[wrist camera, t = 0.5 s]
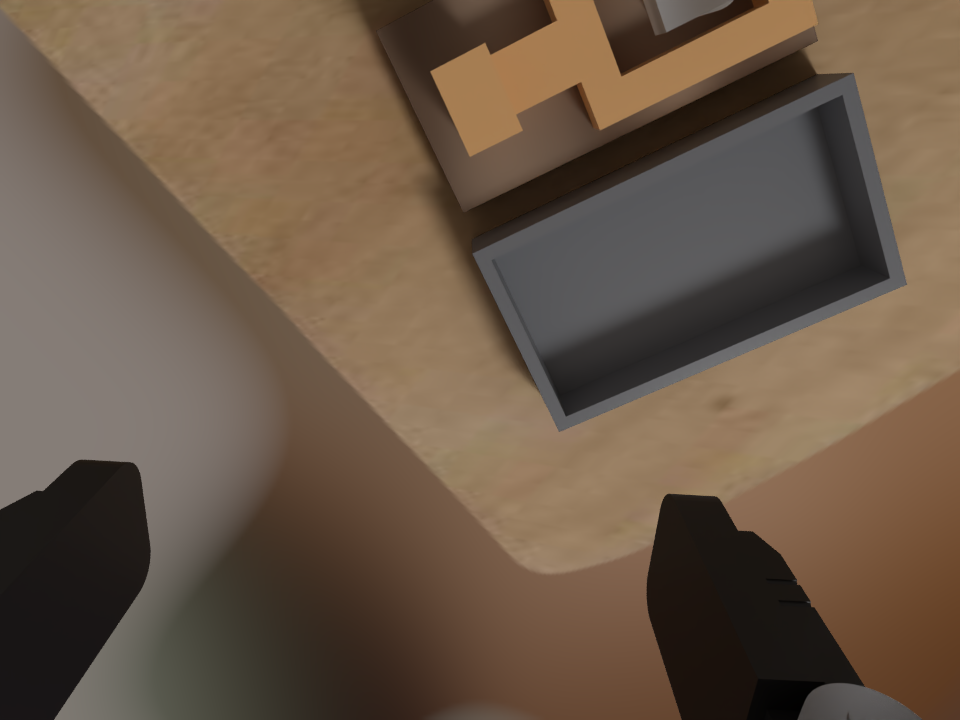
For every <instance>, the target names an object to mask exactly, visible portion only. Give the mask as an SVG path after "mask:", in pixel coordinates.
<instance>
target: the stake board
mask: <svg viewBox="0 0 960 720" xmlns="http://www.w3.org/2000/svg"><path fill="white" fill-rule="evenodd" d="M593 1H594V4H595V6H596V9H597V12H598V14H599V17H600V20H601V23H602V25H603V28H604V31H605V33H606V36H607V39H608V42H609V44H610V47H611V50H612V52H613V55H614V58H615V60H616V63H617V66H618V69H619V71H620V74H621V73H623V72H625V71H627V70H629V69H631V68H633V67H635V66H637V65H639V64H641V63H643V62H645V61H647V60H649V59H651V58H653V57H655V56H657V55H659V54H661V53H663V52H665V51H667V50H669V49H671V48H673V47H675V46H677V45H679V44H681V43H683V42H685V41H687V40H689V39H691V38H693V37H695V36H697V35H699V34H701V33H703V32H705V31H707V30H709V29H711V28H713V27H715V26H717V25H719V24H721V23H724V22H726V21H728V20H730V19H732V18H734V17H736V16H738V15H740V14H742V13H744V12H746V11H748V10H750V9H752V8H754V6H753V2H752V0H593ZM551 23H552V21H551V18H550V16H549V13H548V11H547V8H546V6H545V3H544V0H433V1H431V2H429V3H427V4H425V5H423V6H421V7H420V8H418V9H416V10H414V11H412V12H410V13H408V14H407V15H405V16H403V17H401V18H399V19H397V20H395V21H394V22H392V23H390V24H388V25H386V26H384V27H382V28H381V29H379V30H377V31H376V32H377V34H378V36H379V38H380V40H381V42H382V44H383V46H384V49H385V51H386V53H387V55H388V57H389V59H390V61H391V63H392V65H393V67H394V69H395V71H396V73H397V76H398V78H399V80H400V82H401V84H402V86H403V88H404V90H405V92H406V94H407V96H408V98H409V100H410V103H411V105H412V107H413V109H414V111H415V113H416V115H417V117H418V119H419V121H420V123H421V125H422V127H423V130H424V132H425V134H426V136H427V138H428V140H429V142H430V144H431V146H432V148H433V150H434V152H435V154H436V157H437V159H438V161H439V163H440V165H441V167H442V169H443V171H444V173H445V175H446V177H447V179H448V182H449V184H450V186H451V188H452V190H453V192H454V194H455V196H456V198H457V200H458V202H459V204H460V206H461V209H462V211H463V213H464V212H466V211H468V210H470V209H472V208H474V207H476V206H478V205H480V204H483V203H485V202H487V201H489V200H491V199H493V198H495V197H497V196H499V195H501V194H503V193H505V192H507V191H509V190H511V189H513V188H516V187H518V186H520V185H522V184H524V183H526V182H528V181H530V180H532V179H534V178H536V177H538V176H540V175H542V174H544V173H547V172H549V171H551V170H553V169H555V168H557V167H559V166H561V165H563V164H565V163H567V162H569V161H571V160H573V159H575V158H577V157H580V156H582V155H584V154H586V153H588V152H590V151H592V150H594V149H596V148H598V147H600V146H602V145H604V144H606V143H608V142H610V141H613V140H615V139H617V138H619V137H621V136H623V135H625V134H627V133H629V132H631V131H633V130H635V129H637V128H639V127H641V126H644V125H646V124H648V123H650V122H652V121H654V120H656V119H658V118H660V117H662V116H664V115H666V114H668V113H670V112H672V111H674V110H677V109H679V108H681V107H683V106H685V105H687V104H689V103H691V102H693V101H695V100H697V99H699V98H701V97H703V96H705V95H707V94H710V93H712V92H714V91H716V90H718V89H720V88H722V87H724V86H726V85H728V84H730V83H732V82H734V81H736V80H738V79H741V78H743V77H745V76H747V75H749V74H751V73H753V72H755V71H757V70H759V69H761V68H763V67H765V66H767V65H769V64H771V63H774V62H776V61H778V60H780V59H782V58H784V57H786V56H788V55H790V54H792V53H794V52H796V51H798V50H800V49H802V48H804V47H807V46H809V45H811V44H813V43H815V42H817V41H818V39H817V35H816V32H815V28H814V26H813V27H811V28H809V29H807V30H805V31H803V32H801V33H799V34H797V35H794V36H792V37H790V38H788V39H786V40H784V41H782V42H780V43H778V44H776V45H774V46H772V47H770V48H768V49H766V50H764V51H762V52H760V53H758V54H756V55H754V56H751V57H749V58H747V59H745V60H743V61H741V62H739V63H737V64H735V65H733V66H731V67H729V68H727V69H725V70H723V71H721V72H719V73H717V74H715V75H713V76H711V77H708V78H706V79H704V80H702V81H700V82H698V83H696V84H694V85H692V86H690V87H688V88H686V89H684V90H682V91H680V92H678V93H676V94H674V95H672V96H670V97H667V98H665V99H663V100H661V101H659V102H657V103H655V104H653V105H651V106H649V107H647V108H645V109H643V110H641V111H639V112H637V113H635V114H633V115H631V116H629V117H627V118H624V119H622V120H620V121H618V122H616V123H614V124H612V125H610V126H608V127H606V128H604V129H602V130H597V129H594V128H593V125H592V123H591V120H590V117H589V115H588V112H587V110H586V107H585V105H584V102H583V100H582V97H581V95H580V92H579V89H578V87H577V84H576V85H574V86H572V87H570V88H568V89H566V90H564V91H562V92H560V93H558V94H556V95H554V96H552V97H550V98H548V99H546V100H544V101H542V102H540V103H538V104H536V105H534V106H532V107H530V108H528V109H526V110H524V111H522V112H520V113H518V114H516V115H517V118H518V120H519V122H520V125H521V127H522V129H523V131H521V132H519V133H517V134H515V135H513V136H511V137H509V138H507V139H505V140H503V141H501V142H499V143H497V144H495V145H493V146H491V147H489V148H487V149H485V150H483V151H481V152H479V153H477V154H475V155H473V156H471V157H470V156H469V154H468V152H467V150H466V148H465V145H464V143H463V141H462V139H461V137H460V135H459V132H458V130H457V128H456V126H455V124H454V122H453V120H452V117H451V115H450V113H449V111H448V109H447V107H446V104H445V102H444V100H443V98H442V96H441V94H440V92H439V89H438V87H437V85H436V83H435V81H434V79H433V76H432V74H431V72H430V71H432V70H434V69H436V68H438V67H440V66H442V65H444V64H445V63H447V62H449V61H451V60H453V59H455V58H457V57H459V56H461V55H463V54H465V53H467V52H468V51H470V50H472V49H474V48H476V47H478V46H480V45H482V44H484V43H486V46H487V48H488V50H489V53H490V55H491V54H493V53H495V52H497V51H499V50H501V49H503V48H505V47H507V46H509V45H511V44H513V43H515V42H517V41H519V40H520V39H522V38H524V37H526V36H528V35H530V34H532V33H534V32H536V31H538V30H540V29H542V28H544V27H546V26H547V25H549V24H551Z"/></svg>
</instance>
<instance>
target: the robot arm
mask: <svg viewBox="0 0 960 720" xmlns="http://www.w3.org/2000/svg"><path fill="white" fill-rule="evenodd" d="M150 552H151V550H150V541H149V533H148V527H147V519H146V512H145V504H144V497H143V489H142V482H141V476H140V472H139V470H138V468H137V466H136V465H135V464H134V463H131V462H114V461H96V460H78V461H76V462H74V463H73V464H72V465H71V466H70V467H69V468H67V469H66V470H65V471H64V472H63V473H62V474H61V475H60V476H59V477H58V478H57V479H56V480H55V481H54V482H52V483H51V484H50V485H49V486H48V487H47V488H46V489H45V490H44V491H35V492H33V493H31V494H30V495H28V496H26V497H24V498H22V499H20V500H18V501H16V502H14V503H12V504H10V505H8V506H7V507H5V508H3V509H1V510H0V720H54V719H55V717H56V716H57V714H58V713H59V711H60V710H61V708H62V707H63V705H64V704H65V702H66V701H67V699H68V698H69V696H70V695H71V693H72V692H73V690H74V689H75V687H76V686H77V684H78V683H79V682H80V680H81V678H82V677H83V676H84V674H85V672H86V671H87V670H88V668H89V667H90V665H91V664H92V662H93V661H94V659H95V658H96V656H97V654H98V653H99V652H100V650H101V649H102V647H103V646H104V644H105V643H106V641H107V640H108V638H109V637H110V635H111V634H112V632H113V631H114V629H115V628H116V626H117V625H118V623H119V622H120V620H121V619H122V617H123V616H124V614H125V613H126V612H127V610H128V609H129V607H130V606H131V604H132V603H133V601H134V600H135V598H136V597H137V595H138V594H139V592H140V590H141V589H142V587H143V585H144V582H145V580H146V577H147V573H148V569H149V564H150ZM810 603H811V602H810V600H809V598H808V597H807V595H806V594H805V592H804V591H803V589H802V587H801V586H800V585H797V579H796V578H795V576H794V575H793V573H792V572H791V570H790V568H789V567H788V565H787V564H786V562H785V561H784V559H783V557H782V556H781V554H779V553H778V552H777V551H776V550H774V549H773V548H772V547H771V546H770V545H768V544H767V543H766V542H765V541H764V540H762V539H761V538H760V537H759V536H758V535H756V534H755V533H754V532H751V531H738V530H737V528H736V526H735V525H734V523H733V521H732V519H731V518H730V516H729V514H728V513H727V511H726V509H725V507H724V506H723V504H722V502H721V501H720V499H719V498H718V497H715V496H698V495H680V494H667V495H666V496H665V497H664V499H663V501H662V504H661V508H660V513H659V519H658V524H657V529H656V534H655V540H654V545H653V550H652V555H651V561H650V566H649V572H648V577H647V606H648V613H649V617H650V621H651V624H652V627H653V630H654V633H655V637H656V640H657V643H658V646H659V649H660V653H661V655H662V659H663V662H664V665H665V668H666V672H667V675H668V678H669V681H670V684H671V687H672V690H673V694H674V697H675V700H676V703H677V706H678V709H679V713H680V716H681V719H682V720H922V719H921V718H920V717H919V716H917V715H916V714H914V712H912V711H911V710H909V709H908V708H907V707H905V706H904V705H902V704H901V703H899V702H898V701H896V700H894V699H892V698H890V697H888V696H886V695H884V694H882V693H880V692H877V691H875V690H872V689H869V688H866V687H865V686H864V684H863V683H862V681H861V680H860V678H859V677H858V675H857V673H856V672H855V670H854V669H853V667H852V666H851V664H850V663H849V661H848V659H847V658H846V656H845V655H844V653H843V652H842V650H841V648H840V647H839V645H838V644H837V642H836V641H835V639H834V638H833V636H832V634H831V633H830V631H829V630H828V628H827V627H826V625H825V623H824V622H823V620H822V619H821V617H820V616H819V614H818V612H817V611H816V609H815V608H814V607H811V604H810Z"/></svg>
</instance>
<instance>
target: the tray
mask: <svg viewBox="0 0 960 720" xmlns="http://www.w3.org/2000/svg"><path fill="white" fill-rule="evenodd" d="M472 254H473V256H474V258H475V260H476V262H477V264H478V266H479V268H480V270H481V272H482V274H483V277H484V279H485V281H486V283H487V285H488V287H489V289H490V291H491V293H492V295H493V297H494V299H495V301H496V303H497V305H498V307H499V309H500V311H501V313H502V315H503V318H504V320H505V322H506V324H507V326H508V328H509V330H510V332H511V334H512V336H513V338H514V340H515V342H516V344H517V346H518V348H519V350H520V352H521V354H522V357H523V359H524V361H525V363H526V365H527V367H528V369H529V371H530V373H531V375H532V377H533V379H534V381H535V383H536V385H537V387H538V389H539V391H540V393H541V396H542V398H543V400H544V402H545V404H546V406H547V408H548V410H549V412H550V414H551V416H552V418H553V420H554V422H555V424H556V426H557V428H558V430H559V432H560V431H563V430H565V429H567V428H570V427H572V426H575V425H577V424H579V423H582V422H584V421H586V420H589V419H591V418H593V417H596V416H598V415H600V414H603V413H605V412H608V411H610V410H612V409H615V408H617V407H619V406H622V405H624V404H626V403H629V402H631V401H633V400H636V399H638V398H641V397H643V396H645V395H648V394H650V393H652V392H655V391H657V390H659V389H662V388H664V387H666V386H669V385H671V384H674V383H676V382H678V381H681V380H683V379H685V378H688V377H690V376H692V375H695V374H697V373H699V372H702V371H704V370H707V369H709V368H711V367H714V366H716V365H718V364H721V363H723V362H725V361H728V360H730V359H733V358H735V357H737V356H740V355H742V354H744V353H747V352H749V351H751V350H754V349H756V348H758V347H761V346H763V345H766V344H768V343H770V342H773V341H775V340H777V339H780V338H782V337H784V336H787V335H789V334H791V333H794V332H796V331H799V330H801V329H803V328H806V327H808V326H810V325H813V324H815V323H817V322H820V321H822V320H824V319H827V318H829V317H832V316H834V315H836V314H839V313H841V312H843V311H846V310H848V309H850V308H853V307H855V306H857V305H860V304H862V303H865V302H867V301H869V300H872V299H874V298H876V297H879V296H881V295H883V294H886V293H888V292H890V291H893V290H895V289H898V288H900V287H902V286H905V285H907V283H906V279H905V275H904V271H903V267H902V263H901V259H900V255H899V251H898V247H897V243H896V239H895V235H894V231H893V227H892V223H891V220H890V216H889V212H888V208H887V204H886V200H885V196H884V192H883V188H882V184H881V180H880V176H879V172H878V168H877V164H876V160H875V156H874V152H873V148H872V144H871V140H870V136H869V132H868V128H867V124H866V120H865V116H864V112H863V108H862V105H861V101H860V97H859V93H858V89H857V85H856V81H855V77H854V73H838V74H817V75H815V76H813V77H811V78H809V79H807V80H805V81H802V82H800V83H798V84H796V85H794V86H792V87H790V88H788V89H786V90H784V91H781V92H779V93H777V94H775V95H773V96H771V97H769V98H767V99H765V100H763V101H761V102H758V103H756V104H754V105H752V106H750V107H748V108H746V109H744V110H742V111H740V112H737V113H735V114H733V115H731V116H729V117H727V118H725V119H723V120H721V121H719V122H717V123H714V124H712V125H710V126H708V127H706V128H704V129H702V130H700V131H698V132H696V133H693V134H691V135H689V136H687V137H685V138H683V139H681V140H679V141H677V142H675V143H673V144H670V145H668V146H666V147H664V148H662V149H660V150H658V151H656V152H654V153H652V154H650V155H647V156H645V157H643V158H641V159H639V160H637V161H635V162H633V163H631V164H629V165H626V166H624V167H622V168H620V169H618V170H616V171H614V172H612V173H610V174H608V175H606V176H603V177H601V178H599V179H597V180H595V181H593V182H591V183H589V184H587V185H585V186H582V187H580V188H578V189H576V190H574V191H572V192H570V193H568V194H566V195H564V196H562V197H559V198H557V199H555V200H553V201H551V202H549V203H547V204H545V205H543V206H541V207H538V208H536V209H534V210H532V211H530V212H528V213H526V214H524V215H522V216H520V217H518V218H515V219H513V220H511V221H509V222H507V223H505V224H503V225H501V226H499V227H497V228H495V229H492V230H490V231H488V232H486V233H484V234H482V235H480V236H478V237H476V238H474V239H472Z"/></svg>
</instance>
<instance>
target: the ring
mask: <svg viewBox="0 0 960 720" xmlns="http://www.w3.org/2000/svg"><path fill="white" fill-rule="evenodd" d="M752 2H753V6H754V8H752V9H750V10H748V11H746V12H744V13H742V14H740V15H738V16H736V17H734V18H732V19H730V20H728V21H726V22H724V23H721V24H719V25H717V26H715V27H713V28H711V29H709V30H707V31H705V32H703V33H701V34H699V35H697V36H695V37H693V38H691V39H689V40H687V41H685V42H683V43H681V44H679V45H677V46H675V47H673V48H671V49H669V50H667V51H665V52H663V53H661V54H659V55H657V56H655V57H653V58H651V59H649V60H647V61H645V62H643V63H641V64H639V65H637V66H635V67H633V68H631V69H629V70H627V71H625V72H623V73H621V74H620V71H619V69H618V66H617V63H616V60H615V58H614V55H613V52H612V50H611V47H610V44H609V42H608V39H607V36H606V33H605V31H604V28H603V25H602V23H601V20H600V17H599V14H598V12H597V9H596V6H595V4H594V1H593V0H544V3H545V6H546V8H547V11H548V13H549V16H550V18H551V21H552V23H551V24H549V25H547V26H546V27H544V28H542V29H540V30H538V31H536V32H534V33H532V34H530V35H528V36H526V37H524V38H522V39H520V40H519V41H517V42H515V43H513V44H511V45H509V46H507V47H505V48H503V49H501V50H499V51H497V52H495V53H493V54H491V55H490V53H489V50H488V48H487V46H486V43H484V44H482V45H480V46H478V47H476V48H474V49H472V50H470V51H468V52H467V53H465V54H463V55H461V56H459V57H457V58H455V59H453V60H451V61H449V62H447V63H445V64H444V65H442V66H440V67H438V68H436V69H434V70H432V71H430V72H431V74H432V76H433V79H434V81H435V83H436V85H437V87H438V89H439V92H440V94H441V96H442V98H443V100H444V102H445V104H446V107H447V109H448V111H449V113H450V115H451V117H452V120H453V122H454V124H455V126H456V128H457V130H458V132H459V135H460V137H461V139H462V141H463V143H464V145H465V148H466V150H467V152H468V154H469V156H470V157H471V156H473V155H475V154H477V153H479V152H481V151H483V150H485V149H487V148H489V147H491V146H493V145H495V144H497V143H499V142H501V141H503V140H505V139H507V138H509V137H511V136H513V135H515V134H517V133H519V132H521V131H523V129H522V127H521V125H520V122H519V120H518V118H517V115H516V114H518V113H520V112H522V111H524V110H526V109H528V108H530V107H532V106H534V105H536V104H538V103H540V102H542V101H544V100H546V99H548V98H550V97H552V96H554V95H556V94H558V93H560V92H562V91H564V90H566V89H568V88H570V87H572V86H574V85H576V84H577V87H578V89H579V92H580V95H581V97H582V100H583V102H584V105H585V107H586V110H587V112H588V115H589V117H590V120H591V123H592V125H593V128H594V129H597V130H602V129H604V128H606V127H608V126H610V125H612V124H614V123H616V122H618V121H620V120H622V119H624V118H627V117H629V116H631V115H633V114H635V113H637V112H639V111H641V110H643V109H645V108H647V107H649V106H651V105H653V104H655V103H657V102H659V101H661V100H663V99H665V98H667V97H670V96H672V95H674V94H676V93H678V92H680V91H682V90H684V89H686V88H688V87H690V86H692V85H694V84H696V83H698V82H700V81H702V80H704V79H706V78H708V77H711V76H713V75H715V74H717V73H719V72H721V71H723V70H725V69H727V68H729V67H731V66H733V65H735V64H737V63H739V62H741V61H743V60H745V59H747V58H749V57H751V56H754V55H756V54H758V53H760V52H762V51H764V50H766V49H768V48H770V47H772V46H774V45H776V44H778V43H780V42H782V41H784V40H786V39H788V38H790V37H792V36H794V35H797V34H799V33H801V32H803V31H805V30H807V29H809V28H811V27H813V26H815V25H817V24H818V21H817V17H816V14H815V10H814V6H813V2H812V0H752Z"/></svg>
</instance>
